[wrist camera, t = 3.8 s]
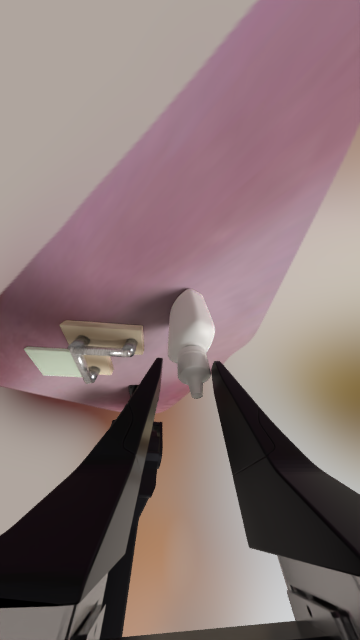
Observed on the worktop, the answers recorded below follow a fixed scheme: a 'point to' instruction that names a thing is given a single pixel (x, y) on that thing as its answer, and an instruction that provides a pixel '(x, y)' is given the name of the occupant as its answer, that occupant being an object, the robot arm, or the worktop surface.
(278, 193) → the worktop surface
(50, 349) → the pad
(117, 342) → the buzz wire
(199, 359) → the eye dropper bottle
